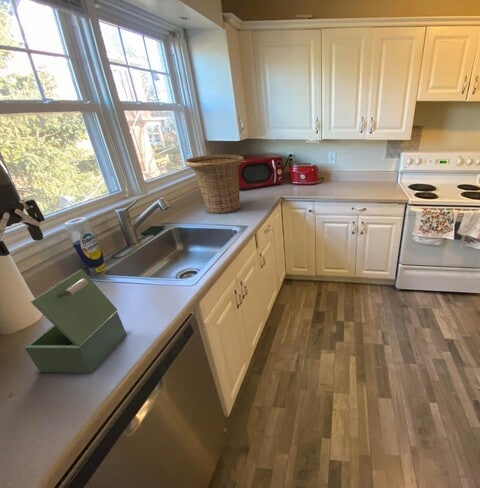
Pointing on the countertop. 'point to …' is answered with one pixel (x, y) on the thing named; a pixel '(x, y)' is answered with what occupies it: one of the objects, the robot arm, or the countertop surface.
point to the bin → (75, 348)
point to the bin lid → (75, 307)
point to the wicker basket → (218, 181)
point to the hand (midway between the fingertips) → (22, 247)
